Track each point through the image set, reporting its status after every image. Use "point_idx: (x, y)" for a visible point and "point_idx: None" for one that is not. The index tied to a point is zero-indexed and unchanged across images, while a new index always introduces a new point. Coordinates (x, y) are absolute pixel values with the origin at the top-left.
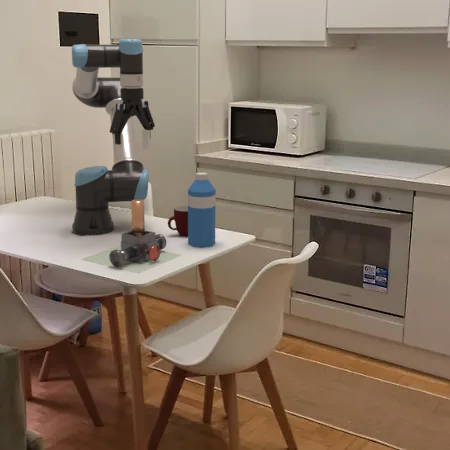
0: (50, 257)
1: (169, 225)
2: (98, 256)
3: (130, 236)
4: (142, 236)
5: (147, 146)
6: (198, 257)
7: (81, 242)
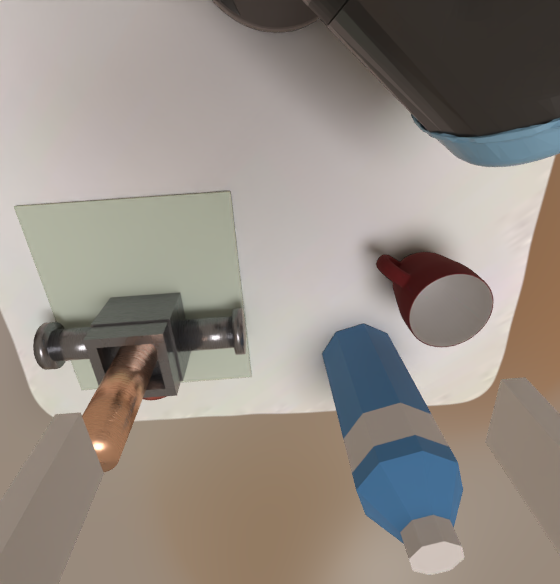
0: None
1: (377, 266)
2: (74, 229)
3: (94, 370)
4: None
5: (503, 453)
6: (269, 403)
7: (127, 35)
